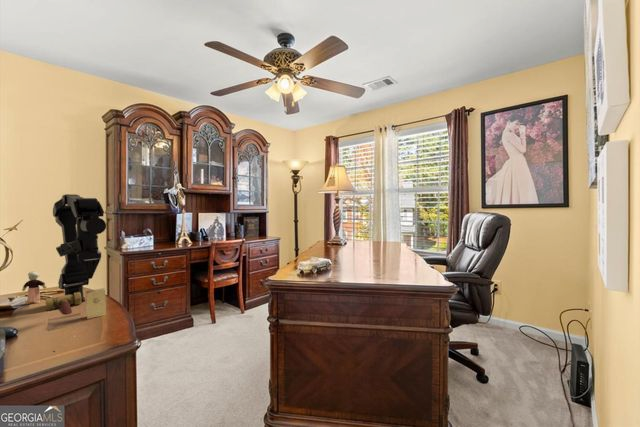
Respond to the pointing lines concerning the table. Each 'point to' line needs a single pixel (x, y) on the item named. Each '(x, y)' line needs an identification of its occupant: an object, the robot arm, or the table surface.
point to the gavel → (63, 302)
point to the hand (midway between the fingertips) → (89, 276)
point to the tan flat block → (64, 321)
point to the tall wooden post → (95, 303)
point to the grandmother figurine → (33, 288)
